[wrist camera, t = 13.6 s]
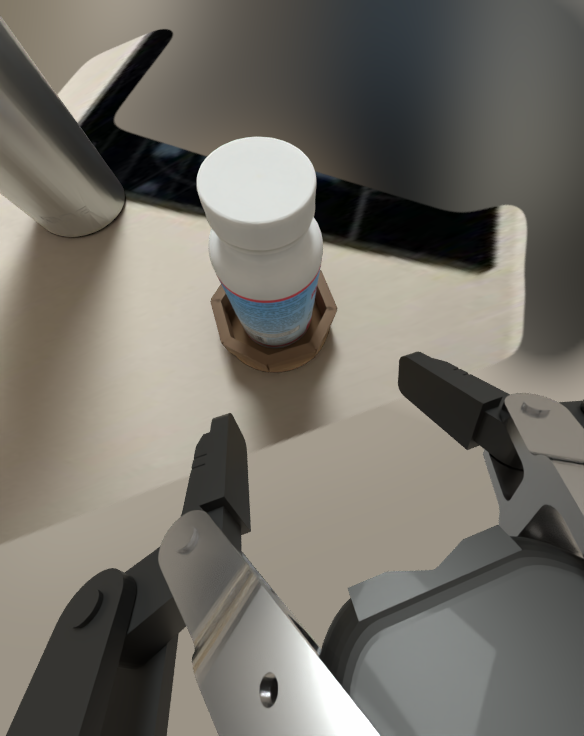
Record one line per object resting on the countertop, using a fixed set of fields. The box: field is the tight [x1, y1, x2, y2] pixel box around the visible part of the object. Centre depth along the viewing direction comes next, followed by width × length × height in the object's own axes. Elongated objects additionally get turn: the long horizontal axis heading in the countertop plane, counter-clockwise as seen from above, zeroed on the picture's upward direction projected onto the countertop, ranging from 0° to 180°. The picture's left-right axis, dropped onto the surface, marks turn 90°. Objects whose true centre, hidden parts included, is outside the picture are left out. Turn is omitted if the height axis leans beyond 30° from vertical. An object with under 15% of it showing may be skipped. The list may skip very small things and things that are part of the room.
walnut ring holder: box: [210, 270, 337, 372], centre depth 18 cm, size 10×10×3 cm
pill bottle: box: [197, 137, 323, 348], centre depth 13 cm, size 6×6×11 cm
